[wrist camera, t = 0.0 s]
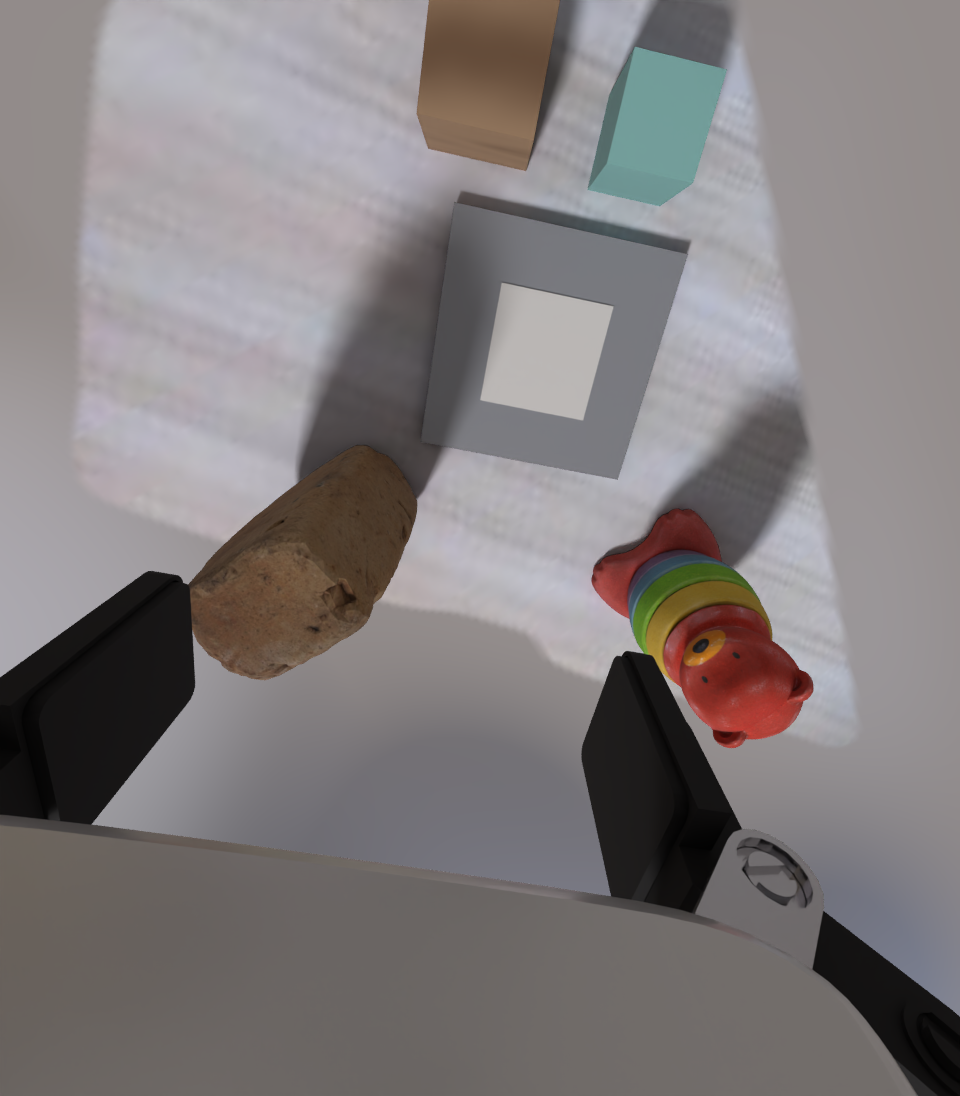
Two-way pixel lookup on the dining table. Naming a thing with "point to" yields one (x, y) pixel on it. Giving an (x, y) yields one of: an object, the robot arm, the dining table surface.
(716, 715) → the stacking bear
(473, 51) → the walnut cube
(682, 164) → the teal block
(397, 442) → the dining table surface
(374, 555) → the brown rounded lumpy part
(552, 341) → the plate
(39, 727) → the robot arm
